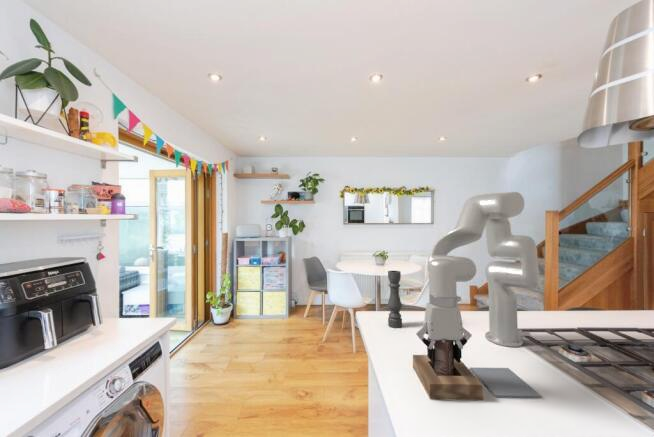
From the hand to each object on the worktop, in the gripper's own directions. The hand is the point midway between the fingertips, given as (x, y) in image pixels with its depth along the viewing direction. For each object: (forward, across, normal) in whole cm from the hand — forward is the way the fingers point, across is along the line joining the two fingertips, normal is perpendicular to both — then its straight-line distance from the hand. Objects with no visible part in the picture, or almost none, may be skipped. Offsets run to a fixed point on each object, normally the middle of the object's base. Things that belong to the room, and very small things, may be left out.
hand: (444, 359), depth 80 cm
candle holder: (+7, +5, -44) cm, 45 cm away
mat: (+7, -17, 0) cm, 18 cm away
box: (+6, 0, 0) cm, 6 cm away
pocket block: (+6, 0, 0) cm, 6 cm away
